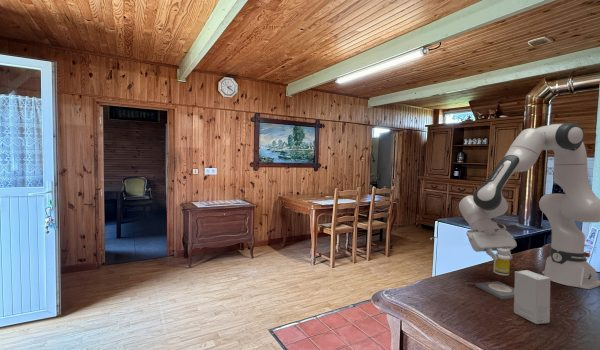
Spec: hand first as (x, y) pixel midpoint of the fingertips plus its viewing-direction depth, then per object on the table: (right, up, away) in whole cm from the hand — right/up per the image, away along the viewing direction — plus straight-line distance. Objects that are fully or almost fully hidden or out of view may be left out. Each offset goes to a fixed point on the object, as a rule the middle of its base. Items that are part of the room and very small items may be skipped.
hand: (503, 259), depth 121 cm
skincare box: (-4, -14, -19) cm, 24 cm away
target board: (-1, -13, +1) cm, 13 cm away
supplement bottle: (0, -6, +1) cm, 6 cm away
